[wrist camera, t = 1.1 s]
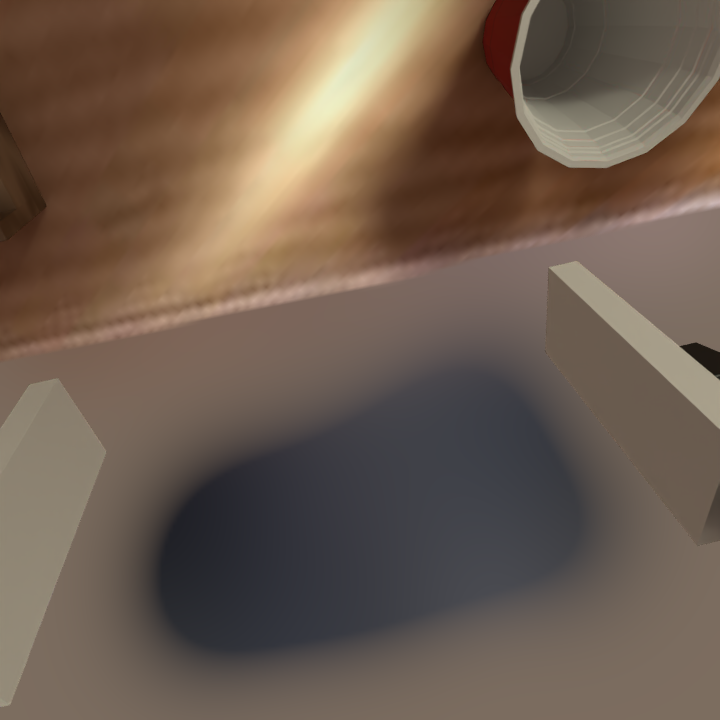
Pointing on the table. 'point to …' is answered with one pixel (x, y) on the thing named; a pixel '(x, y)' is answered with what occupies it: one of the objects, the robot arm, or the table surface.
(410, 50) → the table surface
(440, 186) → the table surface
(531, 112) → the plastic cup
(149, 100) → the table surface
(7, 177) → the tray
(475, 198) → the table surface
